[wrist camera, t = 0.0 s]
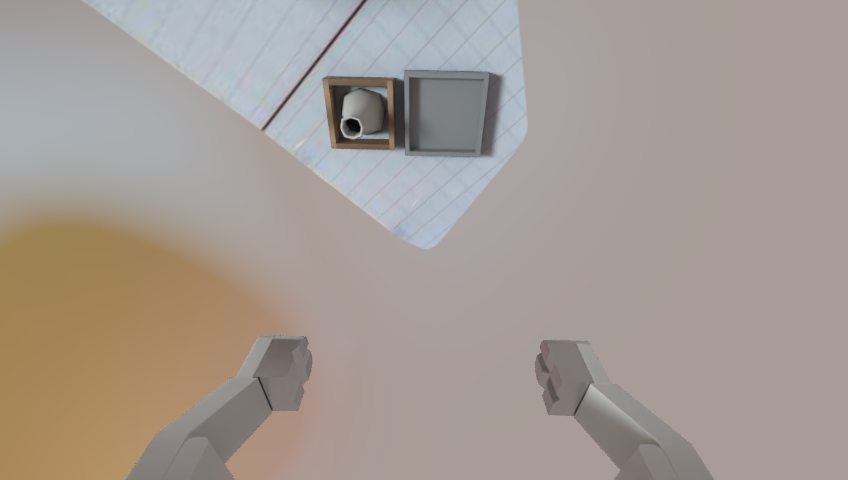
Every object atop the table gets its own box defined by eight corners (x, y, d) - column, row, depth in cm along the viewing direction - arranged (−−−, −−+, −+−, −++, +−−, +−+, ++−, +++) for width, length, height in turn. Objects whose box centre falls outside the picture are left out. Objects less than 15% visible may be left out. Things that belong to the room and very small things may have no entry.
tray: (405, 69, 49) (404, 71, 47) (486, 71, 50) (489, 73, 47) (405, 150, 56) (405, 155, 54) (477, 152, 56) (479, 157, 54)
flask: (383, 86, 51) (375, 98, 42) (388, 133, 55) (381, 153, 46) (337, 88, 51) (319, 100, 43) (345, 135, 55) (330, 154, 47)
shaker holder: (327, 76, 50) (322, 78, 47) (394, 77, 50) (392, 80, 48) (335, 142, 56) (331, 148, 53) (395, 144, 56) (394, 149, 53)
